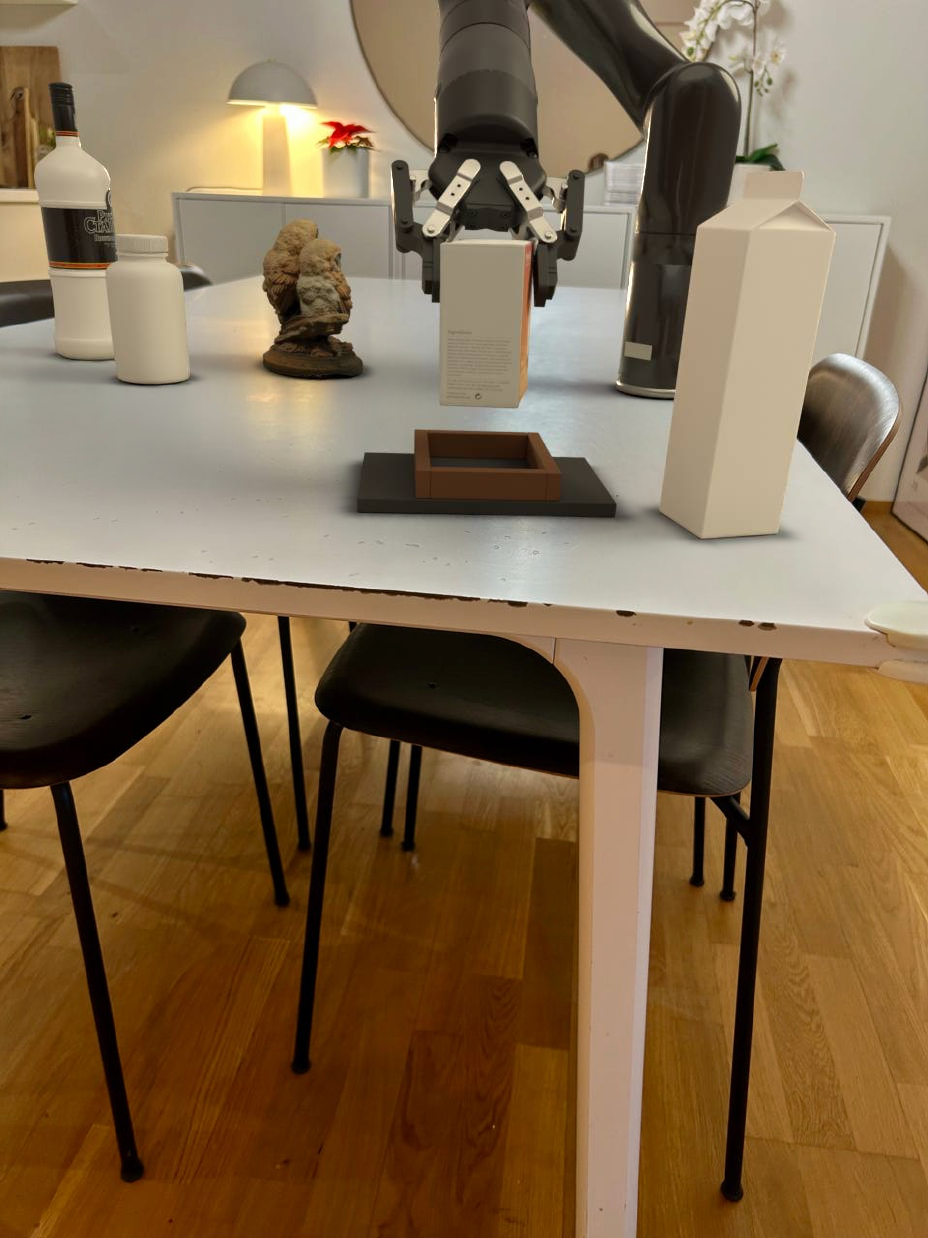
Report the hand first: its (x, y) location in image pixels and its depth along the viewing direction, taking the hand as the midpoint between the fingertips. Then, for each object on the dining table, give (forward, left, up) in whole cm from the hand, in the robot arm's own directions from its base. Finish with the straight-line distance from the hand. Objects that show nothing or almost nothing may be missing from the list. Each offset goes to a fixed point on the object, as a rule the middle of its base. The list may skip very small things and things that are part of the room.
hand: (489, 296), depth 61 cm
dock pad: (0, -2, -14) cm, 14 cm away
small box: (0, -1, -7) cm, 7 cm away
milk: (-16, +5, -14) cm, 22 cm away
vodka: (+45, -57, -14) cm, 73 cm away
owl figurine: (+17, -52, -14) cm, 56 cm away
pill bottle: (+34, -42, -14) cm, 55 cm away
